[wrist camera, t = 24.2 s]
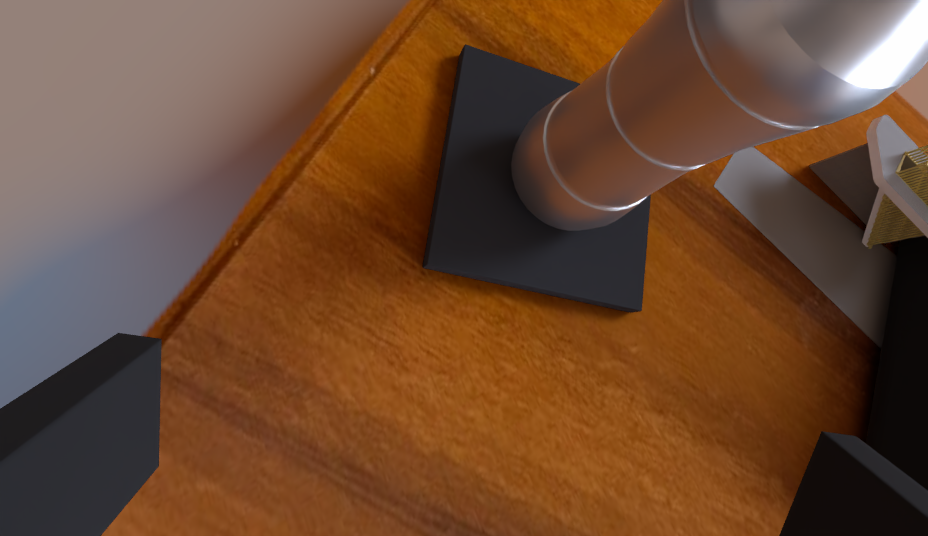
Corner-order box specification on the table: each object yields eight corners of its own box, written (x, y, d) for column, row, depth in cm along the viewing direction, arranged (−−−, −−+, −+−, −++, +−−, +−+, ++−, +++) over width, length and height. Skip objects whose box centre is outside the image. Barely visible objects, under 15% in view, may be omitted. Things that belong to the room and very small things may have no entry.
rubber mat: (422, 268, 25) (426, 264, 24) (459, 54, 28) (464, 43, 27) (630, 312, 29) (641, 311, 28) (646, 117, 31) (657, 109, 30)
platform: (900, 367, 34) (1032, 369, 28) (713, 186, 32) (812, 144, 26) (951, 236, 38) (1078, 213, 32) (788, 66, 36) (890, 5, 30)
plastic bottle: (627, 220, 28) (1277, -51, 10) (522, 256, 26) (1102, -7, 7) (586, 112, 29) (1133, -356, 10) (478, 138, 26) (925, -407, 8)
